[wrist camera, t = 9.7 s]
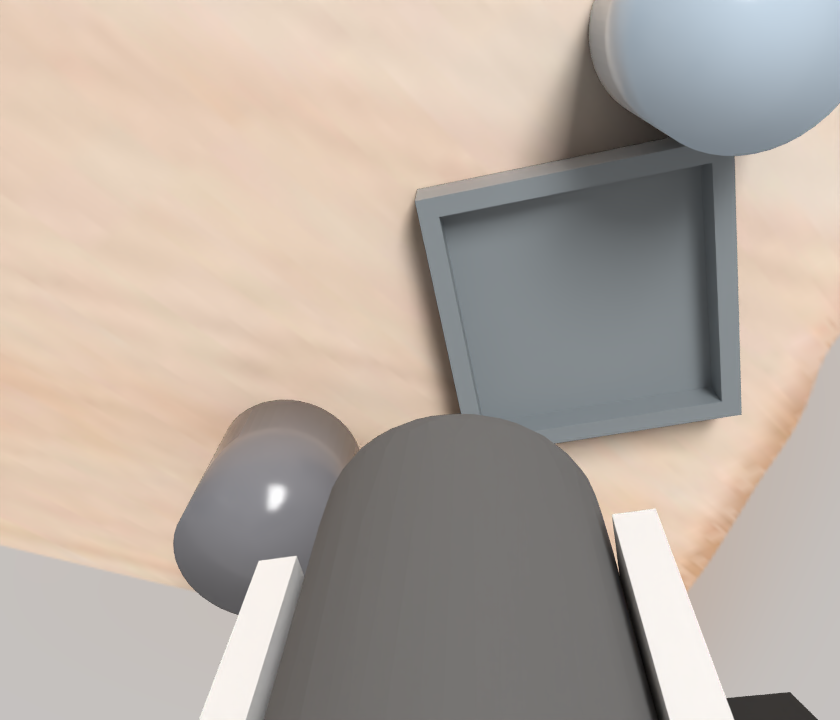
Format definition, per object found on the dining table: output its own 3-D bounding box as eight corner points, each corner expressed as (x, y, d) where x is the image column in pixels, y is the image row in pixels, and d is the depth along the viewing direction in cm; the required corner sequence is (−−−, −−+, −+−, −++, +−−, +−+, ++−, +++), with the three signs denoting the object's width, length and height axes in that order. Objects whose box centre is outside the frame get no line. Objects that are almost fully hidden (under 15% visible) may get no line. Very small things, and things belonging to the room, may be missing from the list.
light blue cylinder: (598, 138, 29) (638, 176, 23) (578, -59, 26) (617, -78, 20) (781, 101, 28) (875, 129, 22) (782, -109, 25) (890, -145, 19)
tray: (469, 433, 35) (470, 456, 34) (417, 189, 30) (414, 201, 28) (726, 392, 34) (741, 414, 32) (716, 128, 29) (733, 136, 27)
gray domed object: (247, 526, 38) (206, 628, 32) (202, 412, 36) (148, 500, 29) (376, 506, 38) (360, 608, 31) (341, 388, 35) (316, 474, 28)
